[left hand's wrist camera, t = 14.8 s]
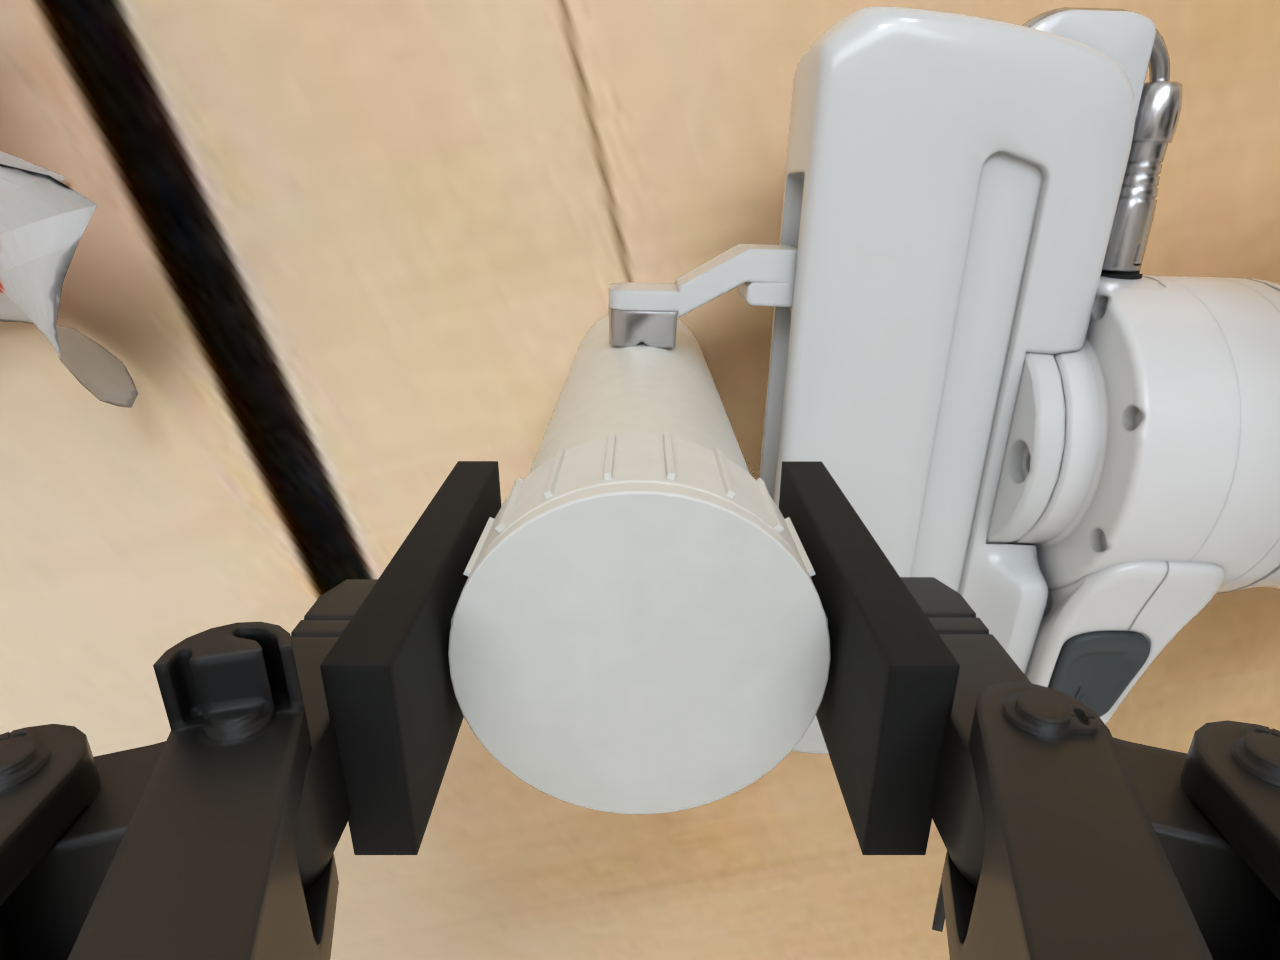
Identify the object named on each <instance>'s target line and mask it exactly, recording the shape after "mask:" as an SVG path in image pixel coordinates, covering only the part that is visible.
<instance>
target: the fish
mask: <svg viewBox="0 0 1280 960" xmlns="http://www.w3.org/2000/svg"><path fill="white" fill-rule="evenodd" d="M64 180H65V177H64V176H61V175H59V174H56V173H54V172H51V171H49V170H46V169H44V168H42V167H39V166H37V165H34V164H32V163H30V162H27V161H25V160H22V159H20V158H18V157H15V156H13V155H10V154H8V153H5V152H3V151H0V321H8V322H25V323H33V324H35V325H36V326H37V327H38V329H39V330H40V331H41V332H42V333H43V334H44V335H45V337H46V338H47V339H48V340H49V341H50V343H51V344H52V346H53V347H54V349H55V350H56V352H57V354H58V356H59V358H60V360H61V362H62V363H63V364H64V365H65V366H66V367H67V368H68V369H69V371H70V372H71V373H72V374H73V375H74V376H75V377H76V379H77V380H78V381H79V382H80V383H81V384H82V385H83V386H84V387H85V388H86V389H88V390H89V391H90V392H91V393H92V394H93V395H94V396H95V397H97V398H98V399H99V400H100V401H103V402H106V403H110V404H113V405H116V406H121V407H130V408H131V407H132V405H133V403H134V401H135V399H136V397H137V395H138V392H137V389H136V387H135V385H134V382H133V380H132V378H131V376H130V374H129V373H128V371H127V369H126V367H125V366H124V364H123V362H122V361H120V360H119V359H118V358H117V357H115V356H114V355H113V354H111V353H110V352H109V351H107V350H106V349H105V348H104V347H102V346H101V345H99V344H98V343H96V342H95V341H93V340H91V339H90V338H88V337H87V336H85V335H84V334H82V333H80V332H79V331H77V330H76V329H74V328H67V327H62V326H59V325H57V324H56V323H57V316H58V310H59V303H60V297H61V290H62V283H63V280H64V278H65V275H66V273H67V270H68V267H69V265H70V262H71V260H72V257H73V255H74V252H75V250H76V247H77V244H78V242H79V240H80V238H81V236H82V234H83V232H84V230H85V228H86V226H87V224H88V222H89V221H90V219H91V217H92V215H93V213H94V211H95V209H96V207H97V204H95V203H93V202H92V201H90V200H89V199H87V198H85V197H84V196H82V195H80V194H79V193H77V192H76V191H74V190H72V189H71V188H69V187H67V186H66V185H64V184H63V183H61V182H63V181H64Z"/></svg>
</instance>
